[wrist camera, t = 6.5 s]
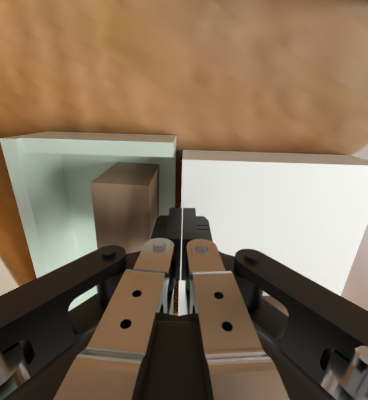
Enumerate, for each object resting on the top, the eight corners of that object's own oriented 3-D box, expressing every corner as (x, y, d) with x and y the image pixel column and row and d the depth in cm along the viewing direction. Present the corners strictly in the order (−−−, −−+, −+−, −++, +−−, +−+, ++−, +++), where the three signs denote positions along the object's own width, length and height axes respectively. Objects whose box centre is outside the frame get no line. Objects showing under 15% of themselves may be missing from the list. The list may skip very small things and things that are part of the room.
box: (48, 131, 16) (-1, 138, 12) (176, 135, 16) (172, 144, 12) (83, 318, 22) (60, 365, 18) (173, 320, 22) (170, 368, 18)
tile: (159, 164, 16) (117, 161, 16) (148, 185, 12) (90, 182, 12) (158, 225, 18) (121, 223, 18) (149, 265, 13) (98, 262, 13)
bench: (183, 149, 16) (182, 159, 13) (348, 155, 16) (389, 166, 13) (178, 313, 22) (177, 348, 19) (299, 317, 22) (319, 352, 19)
